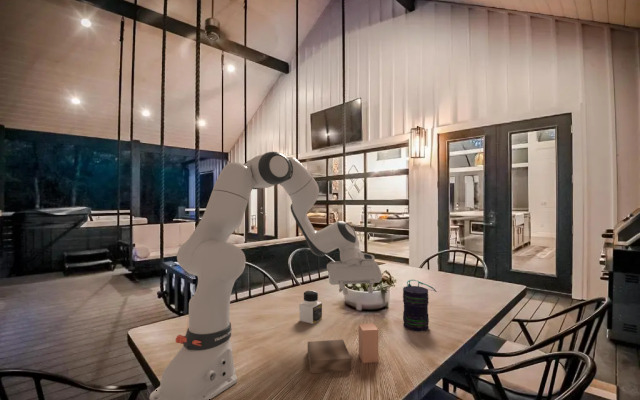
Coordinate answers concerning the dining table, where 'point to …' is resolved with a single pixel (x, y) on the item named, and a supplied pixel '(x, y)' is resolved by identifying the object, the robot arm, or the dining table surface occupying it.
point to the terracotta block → (368, 342)
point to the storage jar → (415, 308)
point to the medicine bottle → (310, 308)
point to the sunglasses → (418, 284)
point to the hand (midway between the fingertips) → (358, 293)
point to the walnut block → (328, 356)
